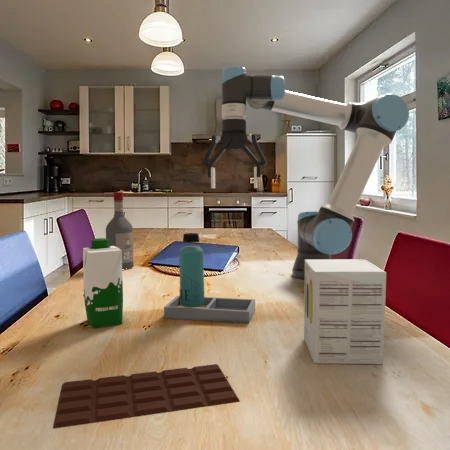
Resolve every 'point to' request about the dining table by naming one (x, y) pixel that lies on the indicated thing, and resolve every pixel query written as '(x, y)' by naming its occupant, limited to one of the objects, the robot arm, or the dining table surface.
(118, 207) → the liquor
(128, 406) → the chocolate bar
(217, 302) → the tray
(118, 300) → the milk carton
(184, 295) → the beverage bottle
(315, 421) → the dining table surface
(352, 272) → the supplement box
